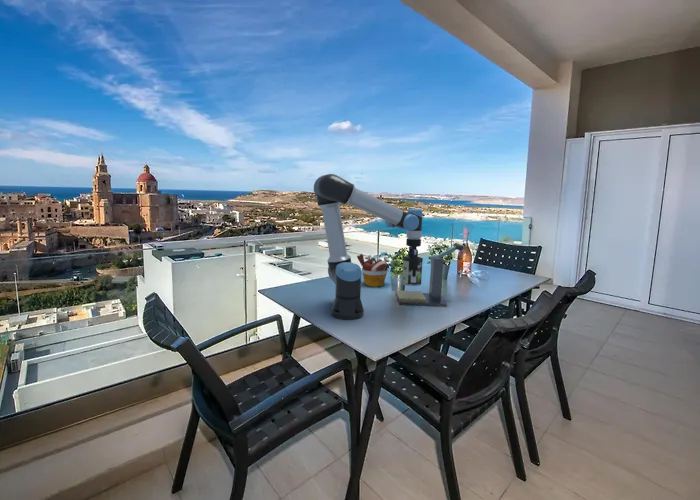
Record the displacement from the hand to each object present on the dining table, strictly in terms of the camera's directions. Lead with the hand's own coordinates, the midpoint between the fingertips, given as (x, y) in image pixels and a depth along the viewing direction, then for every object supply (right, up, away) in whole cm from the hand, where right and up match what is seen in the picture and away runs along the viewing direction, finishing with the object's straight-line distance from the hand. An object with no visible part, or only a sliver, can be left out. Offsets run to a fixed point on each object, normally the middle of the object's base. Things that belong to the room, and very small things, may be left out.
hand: (411, 279), depth 171 cm
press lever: (+20, +13, +3) cm, 24 cm away
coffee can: (0, -2, 0) cm, 2 cm away
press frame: (+5, -11, +2) cm, 12 cm away
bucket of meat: (-18, -6, +30) cm, 36 cm away
